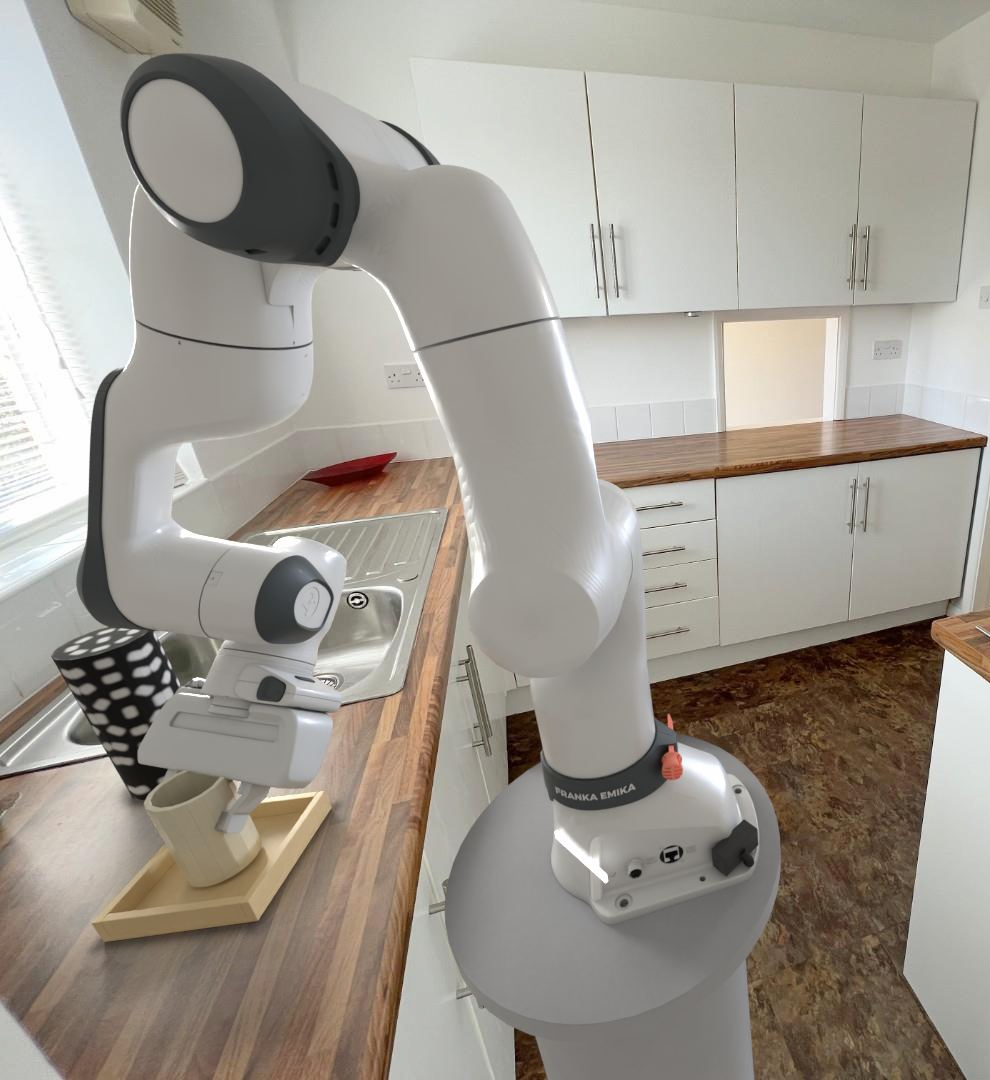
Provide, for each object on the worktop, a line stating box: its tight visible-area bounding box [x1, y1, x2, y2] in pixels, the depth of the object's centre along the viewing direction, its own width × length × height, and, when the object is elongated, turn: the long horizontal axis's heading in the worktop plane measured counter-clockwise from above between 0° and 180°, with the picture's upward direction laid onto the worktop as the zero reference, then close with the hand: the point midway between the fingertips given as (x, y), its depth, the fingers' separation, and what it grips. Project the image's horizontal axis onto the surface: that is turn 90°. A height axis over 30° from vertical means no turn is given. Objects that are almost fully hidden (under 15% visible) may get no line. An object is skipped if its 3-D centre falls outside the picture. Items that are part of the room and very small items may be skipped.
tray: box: [91, 790, 332, 943], centre depth 60 cm, size 14×14×3 cm
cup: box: [143, 770, 262, 887], centre depth 58 cm, size 6×6×10 cm
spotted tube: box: [50, 626, 183, 801], centre depth 71 cm, size 8×8×20 cm
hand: (199, 826), depth 58 cm, fingers closed on cup, 6 cm apart
